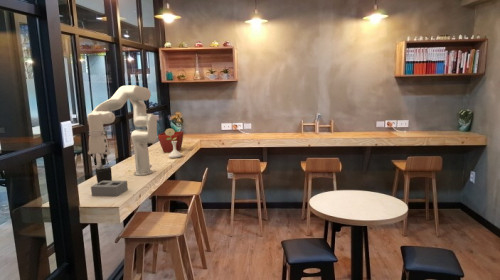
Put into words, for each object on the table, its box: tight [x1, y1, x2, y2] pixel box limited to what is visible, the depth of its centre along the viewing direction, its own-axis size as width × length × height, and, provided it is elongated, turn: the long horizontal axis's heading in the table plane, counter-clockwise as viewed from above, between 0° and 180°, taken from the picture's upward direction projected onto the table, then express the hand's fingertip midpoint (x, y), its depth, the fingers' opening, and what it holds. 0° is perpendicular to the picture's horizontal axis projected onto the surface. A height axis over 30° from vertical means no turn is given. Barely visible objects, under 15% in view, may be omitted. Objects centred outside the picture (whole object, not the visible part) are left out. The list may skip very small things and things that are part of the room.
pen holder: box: [94, 166, 113, 184], centre depth 221 cm, size 9×9×10 cm
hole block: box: [90, 180, 129, 197], centre depth 202 cm, size 12×16×6 cm
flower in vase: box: [164, 128, 183, 159], centre depth 287 cm, size 13×11×25 cm
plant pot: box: [157, 131, 184, 153], centre depth 313 cm, size 19×19×17 cm
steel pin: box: [95, 153, 105, 169], centre depth 199 cm, size 4×4×11 cm
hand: (100, 164), depth 200 cm, fingers closed on steel pin, 4 cm apart
